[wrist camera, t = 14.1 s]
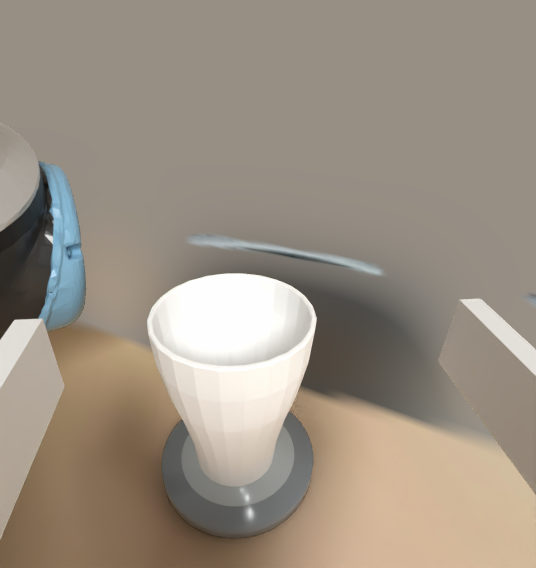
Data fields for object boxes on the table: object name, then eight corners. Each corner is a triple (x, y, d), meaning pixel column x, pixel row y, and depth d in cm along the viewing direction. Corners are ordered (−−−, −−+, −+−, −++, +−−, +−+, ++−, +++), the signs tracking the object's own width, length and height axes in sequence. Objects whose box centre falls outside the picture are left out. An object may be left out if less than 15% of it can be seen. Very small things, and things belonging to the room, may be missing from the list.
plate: (132, 469, 31) (129, 459, 30) (234, 386, 39) (234, 376, 39) (245, 579, 25) (245, 569, 24) (339, 451, 33) (340, 442, 32)
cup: (318, 504, 28) (341, 357, 21) (167, 532, 26) (138, 380, 19) (284, 395, 37) (293, 268, 30) (170, 410, 35) (151, 278, 28)
